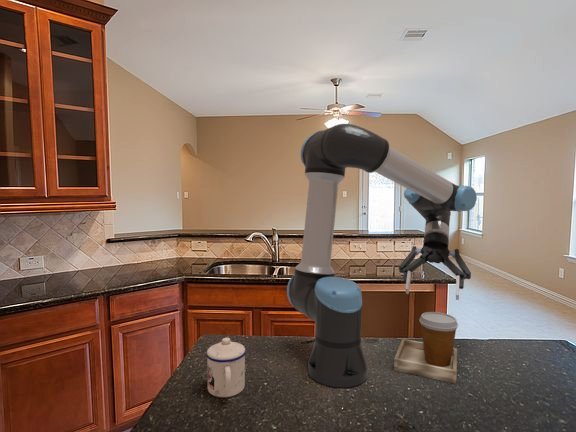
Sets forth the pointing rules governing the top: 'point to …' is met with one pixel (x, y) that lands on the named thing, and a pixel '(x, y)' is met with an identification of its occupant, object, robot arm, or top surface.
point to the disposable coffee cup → (438, 337)
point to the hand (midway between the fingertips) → (431, 294)
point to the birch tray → (423, 362)
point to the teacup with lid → (226, 368)
